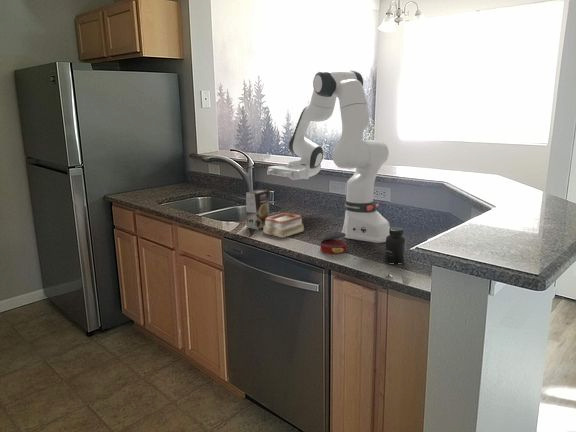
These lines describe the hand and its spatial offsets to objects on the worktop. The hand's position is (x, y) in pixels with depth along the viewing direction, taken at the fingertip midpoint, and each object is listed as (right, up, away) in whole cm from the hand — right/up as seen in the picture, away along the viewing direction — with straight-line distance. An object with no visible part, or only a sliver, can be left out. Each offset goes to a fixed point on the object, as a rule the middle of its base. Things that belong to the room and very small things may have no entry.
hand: (275, 173), depth 210 cm
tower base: (+4, -26, -13) cm, 29 cm away
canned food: (+23, -33, -37) cm, 55 cm away
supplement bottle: (+43, -36, -51) cm, 75 cm away
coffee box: (-8, -24, -3) cm, 26 cm away
